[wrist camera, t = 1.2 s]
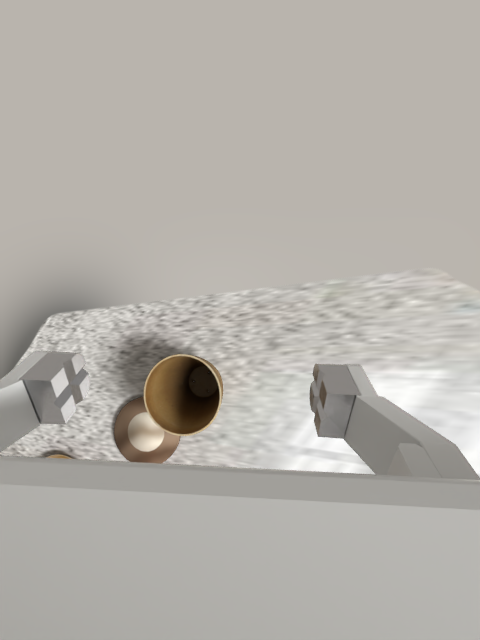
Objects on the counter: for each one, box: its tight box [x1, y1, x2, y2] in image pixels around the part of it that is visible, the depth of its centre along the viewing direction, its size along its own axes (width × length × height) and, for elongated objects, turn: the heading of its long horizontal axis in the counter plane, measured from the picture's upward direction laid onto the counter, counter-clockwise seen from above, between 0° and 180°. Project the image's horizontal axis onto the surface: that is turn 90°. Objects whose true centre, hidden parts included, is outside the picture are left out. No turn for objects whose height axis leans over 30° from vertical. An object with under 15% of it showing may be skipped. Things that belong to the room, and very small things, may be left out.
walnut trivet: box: [114, 397, 180, 463], centre depth 70 cm, size 16×16×2 cm
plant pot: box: [144, 354, 223, 436], centre depth 62 cm, size 15×15×16 cm
